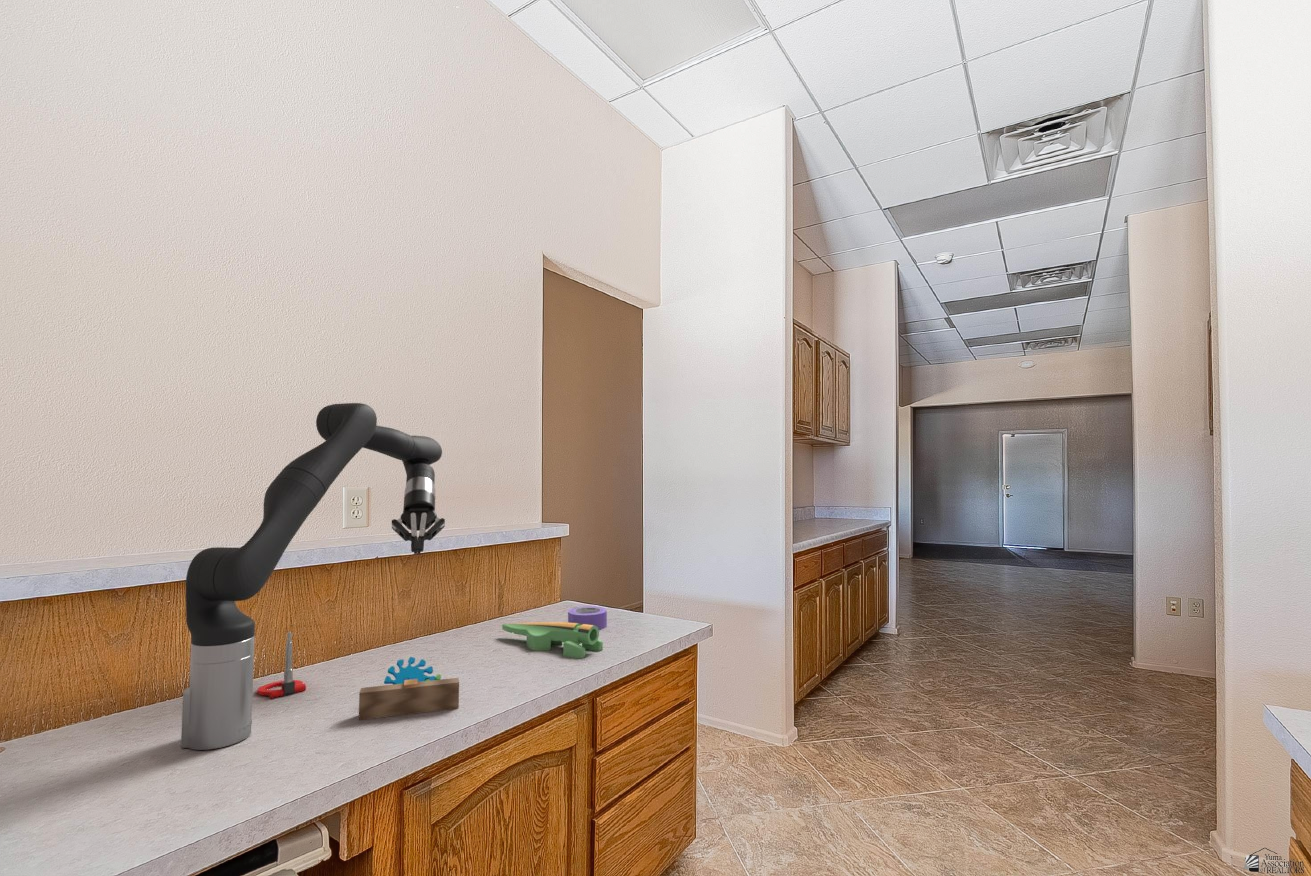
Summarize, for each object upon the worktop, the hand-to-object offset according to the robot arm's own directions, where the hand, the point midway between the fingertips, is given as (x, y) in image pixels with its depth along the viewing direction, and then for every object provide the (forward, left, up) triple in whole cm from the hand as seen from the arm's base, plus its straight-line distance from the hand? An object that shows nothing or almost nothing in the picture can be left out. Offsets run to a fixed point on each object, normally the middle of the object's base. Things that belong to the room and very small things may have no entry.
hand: (417, 551), depth 147 cm
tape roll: (+43, +36, -28) cm, 63 cm away
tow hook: (-26, -9, -28) cm, 39 cm away
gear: (+3, -18, -28) cm, 34 cm away
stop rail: (+5, -26, -28) cm, 38 cm away
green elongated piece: (+30, +17, -28) cm, 45 cm away
